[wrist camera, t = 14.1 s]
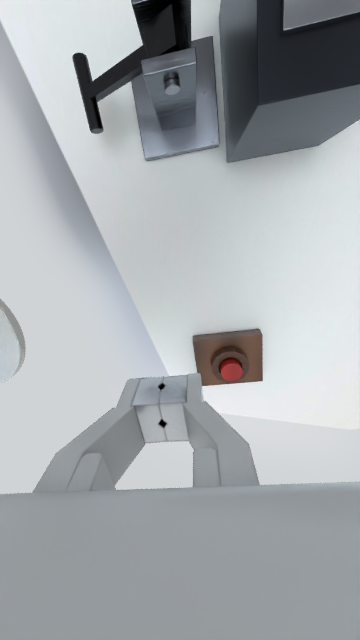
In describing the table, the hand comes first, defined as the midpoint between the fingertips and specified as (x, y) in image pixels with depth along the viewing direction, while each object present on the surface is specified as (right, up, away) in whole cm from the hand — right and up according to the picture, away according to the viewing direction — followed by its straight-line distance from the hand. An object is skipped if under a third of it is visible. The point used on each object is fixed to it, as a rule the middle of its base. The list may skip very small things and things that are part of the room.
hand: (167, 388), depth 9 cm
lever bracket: (0, +30, +19) cm, 36 cm away
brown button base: (+10, -4, +33) cm, 35 cm away
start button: (+9, -5, +30) cm, 32 cm away
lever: (-4, +27, +12) cm, 30 cm away
